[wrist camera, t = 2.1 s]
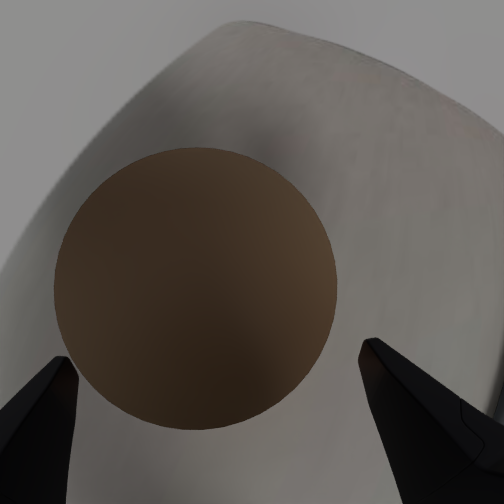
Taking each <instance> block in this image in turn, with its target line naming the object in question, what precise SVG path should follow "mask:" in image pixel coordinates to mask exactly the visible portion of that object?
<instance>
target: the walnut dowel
mask: <svg viewBox="0 0 504 504" xmlns="http://www.w3.org/2000/svg"><path fill="white" fill-rule="evenodd" d="M54 301H55V310H56V316H57V321H58V325H59V329H60V332H61V335H62V338H63V341H64V343H65V345H66V348H67V350H68V352H69V354H70V356H71V358H72V360H73V361H74V363H75V364H76V366H77V367H78V369H79V371H80V372H81V374H82V375H83V376H84V377H85V378H86V380H87V381H88V382H89V383H90V384H91V385H92V386H93V388H94V389H95V390H97V391H98V392H99V393H100V394H101V395H102V396H103V397H104V398H106V399H107V400H108V401H109V402H111V403H112V404H114V405H115V406H117V407H118V408H120V409H121V410H123V411H124V412H126V413H128V414H130V415H132V416H135V417H137V418H139V419H141V420H143V421H146V422H149V423H153V424H156V425H159V426H163V427H169V428H175V429H182V430H205V429H213V428H220V427H225V426H229V425H232V424H236V423H239V422H243V421H245V420H247V419H250V418H252V417H254V416H256V415H258V414H261V413H263V412H264V411H266V410H267V409H269V408H271V407H272V406H274V405H275V404H277V403H278V402H280V401H281V400H282V399H283V398H284V397H286V396H287V395H288V394H289V393H290V392H291V391H293V390H294V389H295V388H296V387H297V386H298V384H299V383H300V382H301V381H302V380H303V379H304V378H305V376H306V375H307V374H308V373H309V371H310V370H311V368H312V367H313V365H314V364H315V362H316V361H317V359H318V357H319V356H320V354H321V352H322V350H323V347H324V345H325V343H326V341H327V339H328V336H329V333H330V329H331V326H332V323H333V319H334V314H335V308H336V301H337V275H336V266H335V260H334V256H333V252H332V248H331V244H330V241H329V239H328V236H327V234H326V231H325V229H324V227H323V225H322V223H321V221H320V219H319V218H318V216H317V214H316V212H315V211H314V209H313V208H312V207H311V205H310V204H309V203H308V201H307V200H306V199H305V197H304V196H303V195H302V194H301V193H300V192H299V191H298V190H297V189H296V188H295V187H294V186H293V185H292V184H291V183H290V182H289V181H287V180H286V179H285V178H284V177H282V176H281V175H280V174H279V173H277V172H276V171H274V170H272V169H271V168H269V167H267V166H266V165H264V164H262V163H260V162H258V161H256V160H253V159H251V158H249V157H247V156H243V155H240V154H237V153H234V152H230V151H225V150H219V149H212V148H182V149H175V150H169V151H164V152H161V153H157V154H154V155H151V156H147V157H145V158H143V159H140V160H138V161H136V162H134V163H132V164H130V165H128V166H126V167H125V168H123V169H121V170H120V171H118V172H117V173H115V174H114V175H112V176H111V177H110V178H108V179H107V180H106V181H105V182H103V183H102V184H101V185H100V186H99V187H98V188H97V189H96V190H95V191H94V192H93V193H92V194H91V195H90V196H89V198H88V199H87V200H86V201H85V202H84V204H83V205H82V206H81V208H80V209H79V211H78V212H77V214H76V215H75V217H74V218H73V220H72V222H71V224H70V226H69V228H68V230H67V232H66V234H65V236H64V239H63V242H62V245H61V248H60V251H59V255H58V259H57V264H56V269H55V280H54Z"/></svg>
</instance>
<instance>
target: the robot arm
mask: <svg viewBox="0 0 504 504" xmlns="http://www.w3.org/2000/svg"><path fill="white" fill-rule="evenodd" d="M358 364H359V368H360V372H361V376H362V380H363V384H364V388H365V392H366V396H367V400H368V404H369V407H370V410H371V413H372V415H373V418H374V421H375V423H376V426H377V429H378V432H379V435H380V437H381V440H382V443H383V446H384V449H385V452H386V454H387V457H388V460H389V463H390V466H391V469H392V472H393V475H394V478H395V481H396V484H397V487H398V490H399V494H400V497H401V500H402V503H403V504H504V425H502V424H500V423H499V422H497V421H495V420H493V419H492V418H490V417H488V416H487V415H485V414H484V413H482V412H480V411H479V410H477V409H476V408H475V407H473V406H472V405H470V404H469V403H467V402H466V401H465V400H463V399H462V398H460V397H459V396H458V395H456V394H455V393H453V392H452V391H451V390H449V389H448V388H447V387H445V386H444V385H442V384H441V383H440V382H438V381H437V380H436V379H434V378H433V377H431V376H430V375H429V374H427V373H426V372H425V371H423V370H422V369H420V368H419V367H418V366H416V365H415V364H413V363H412V362H411V361H409V360H408V359H407V358H405V357H404V356H402V355H401V354H400V353H398V352H397V351H395V350H394V349H393V348H391V347H390V346H389V345H387V344H386V343H384V342H383V341H382V340H380V339H379V338H376V337H375V338H369V339H365V340H364V341H363V344H362V347H361V350H360V354H359V357H358ZM78 384H79V376H78V373H77V371H76V369H75V368H74V366H73V364H72V362H71V361H70V359H69V358H68V357H66V356H56V357H55V358H53V359H52V360H51V361H50V362H49V363H48V364H47V365H46V366H45V367H44V368H43V369H42V370H41V371H40V372H38V373H37V374H36V375H35V376H34V377H33V378H32V379H31V380H30V381H29V382H28V383H27V384H26V385H25V386H24V387H23V388H22V389H21V390H20V391H19V392H18V393H17V394H16V395H15V396H14V397H13V398H12V399H11V400H10V401H9V402H8V403H7V404H6V405H5V406H4V407H3V408H2V409H1V410H0V504H66V492H67V480H68V470H69V462H70V454H71V446H72V439H73V433H74V427H75V419H76V406H77V394H78Z"/></svg>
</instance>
